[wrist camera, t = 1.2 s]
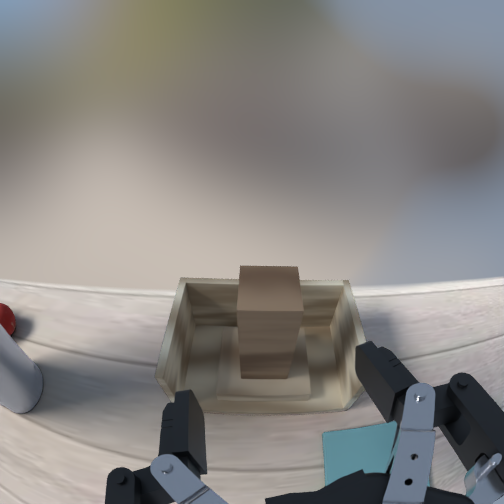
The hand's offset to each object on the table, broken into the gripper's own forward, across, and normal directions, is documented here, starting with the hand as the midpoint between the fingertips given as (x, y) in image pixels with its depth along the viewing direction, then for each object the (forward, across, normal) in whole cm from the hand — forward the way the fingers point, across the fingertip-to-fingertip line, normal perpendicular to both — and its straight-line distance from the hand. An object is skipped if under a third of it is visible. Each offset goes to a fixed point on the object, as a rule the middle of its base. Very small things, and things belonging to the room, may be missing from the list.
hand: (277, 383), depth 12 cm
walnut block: (+15, 0, +12) cm, 19 cm away
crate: (+17, 0, +14) cm, 22 cm away
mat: (+1, -8, +22) cm, 23 cm away
